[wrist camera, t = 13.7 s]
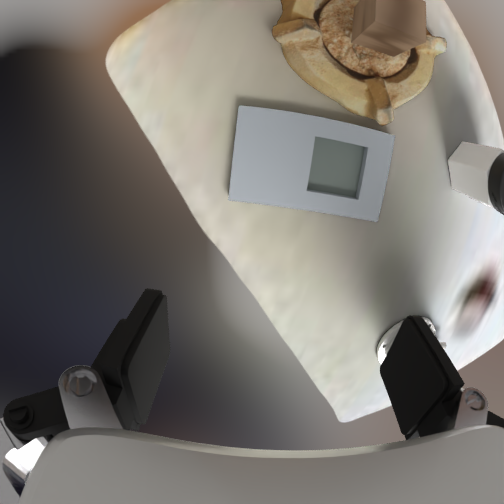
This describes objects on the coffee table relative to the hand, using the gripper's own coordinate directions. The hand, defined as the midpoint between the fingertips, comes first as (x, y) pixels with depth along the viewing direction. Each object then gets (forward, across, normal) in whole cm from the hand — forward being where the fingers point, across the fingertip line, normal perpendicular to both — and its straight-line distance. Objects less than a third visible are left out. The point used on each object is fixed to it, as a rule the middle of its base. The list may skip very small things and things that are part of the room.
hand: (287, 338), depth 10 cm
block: (+24, -10, -23) cm, 34 cm away
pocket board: (+28, -5, -4) cm, 29 cm away
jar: (+28, -30, -9) cm, 42 cm away
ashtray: (+29, -10, -23) cm, 38 cm away
